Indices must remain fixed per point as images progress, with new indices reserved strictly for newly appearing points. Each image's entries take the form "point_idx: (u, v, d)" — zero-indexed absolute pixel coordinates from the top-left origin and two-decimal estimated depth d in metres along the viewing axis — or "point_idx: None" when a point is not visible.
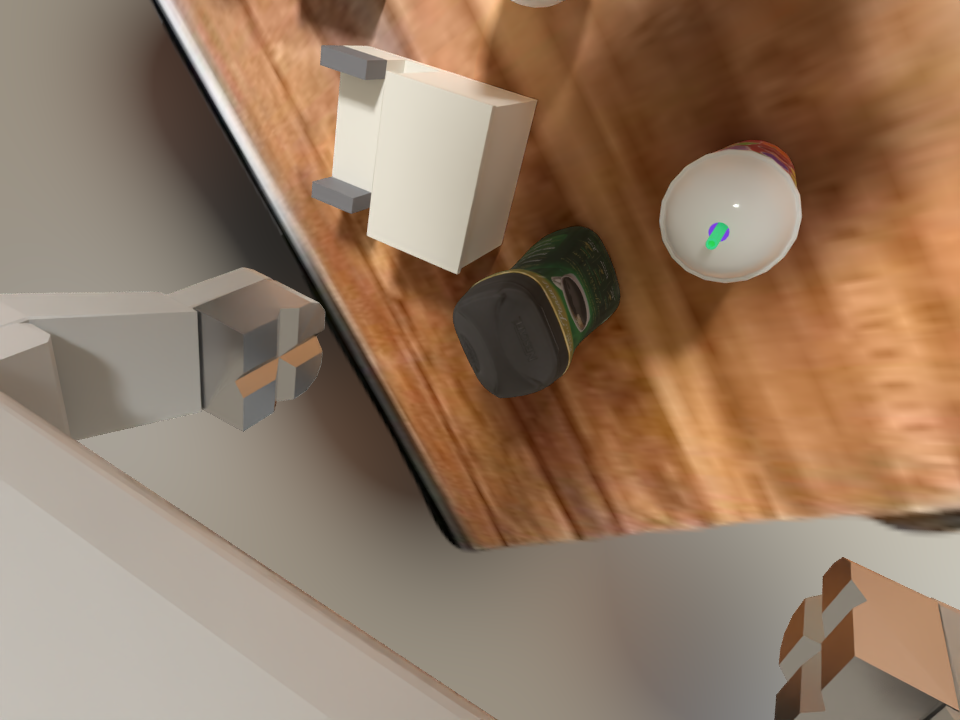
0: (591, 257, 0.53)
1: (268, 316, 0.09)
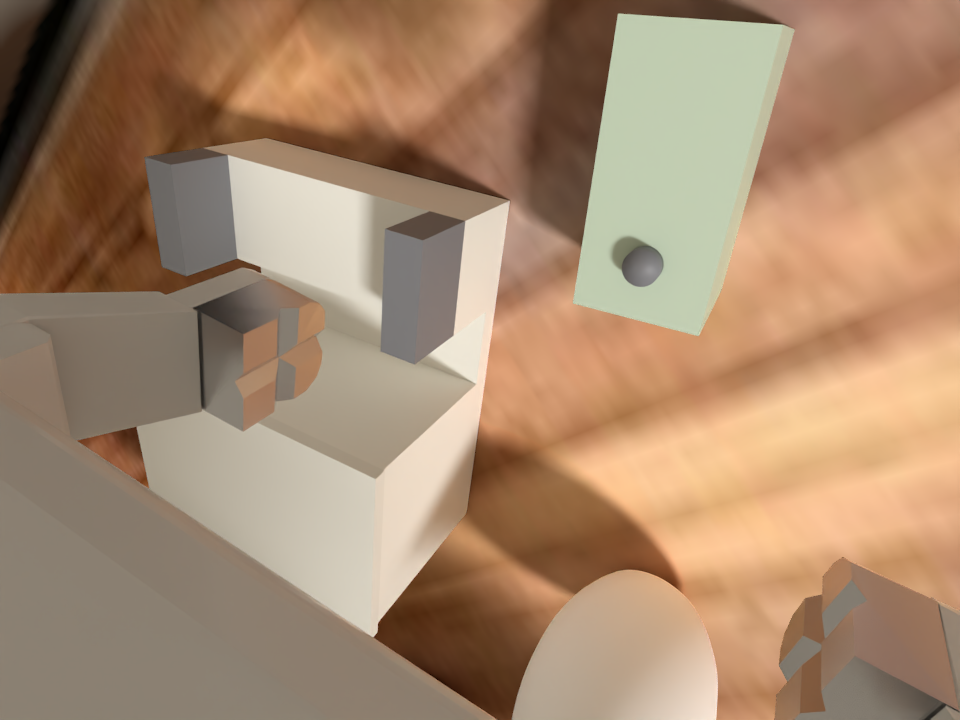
0: None
1: (268, 316, 0.09)
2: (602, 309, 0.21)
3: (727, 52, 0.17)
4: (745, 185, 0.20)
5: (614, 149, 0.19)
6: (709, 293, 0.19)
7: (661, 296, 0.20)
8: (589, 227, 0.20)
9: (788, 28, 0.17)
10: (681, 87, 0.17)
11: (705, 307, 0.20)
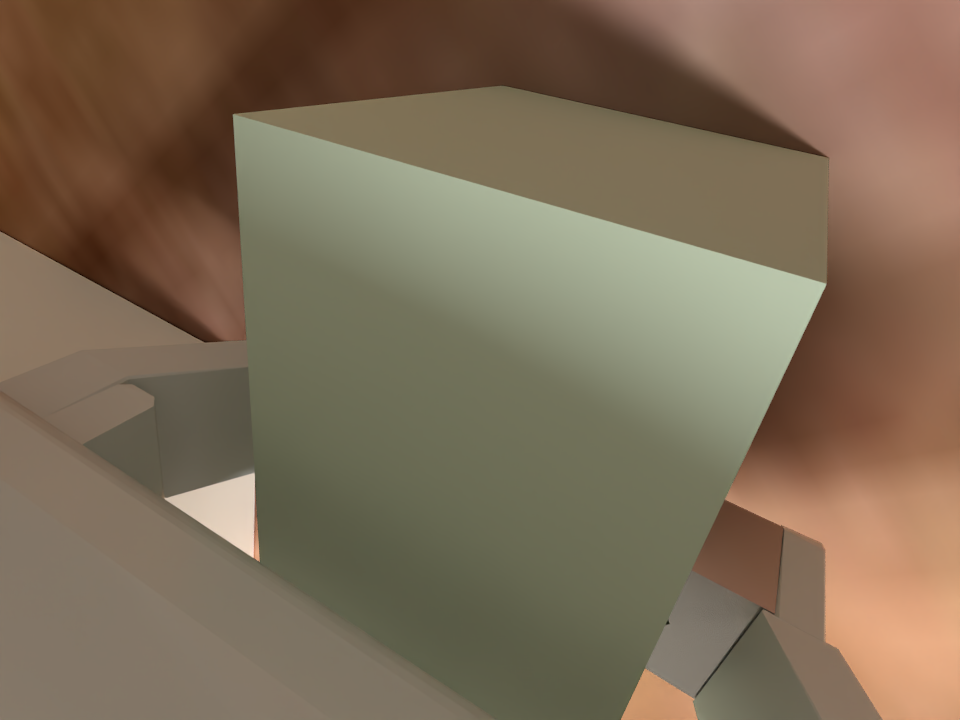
0: None
1: None
2: None
3: (592, 327, 0.04)
4: None
5: (293, 486, 0.07)
6: None
7: None
8: None
9: (826, 212, 0.05)
10: (443, 391, 0.05)
11: None
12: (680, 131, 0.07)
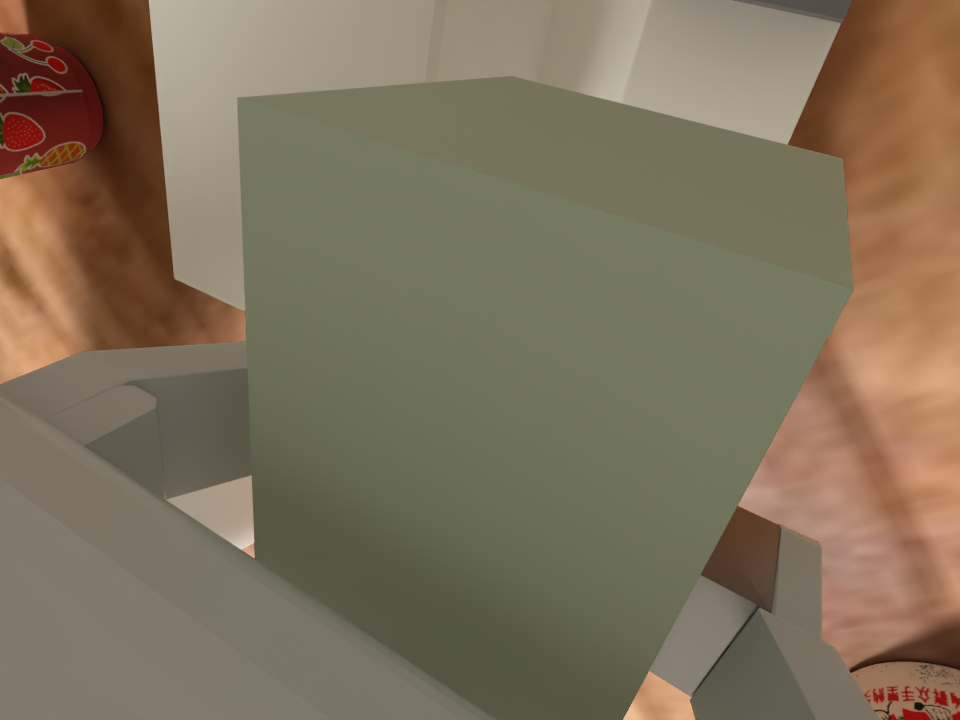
0: None
1: None
2: None
3: (606, 327, 0.04)
4: None
5: (291, 481, 0.06)
6: None
7: None
8: None
9: None
10: (449, 388, 0.05)
11: None
12: (692, 127, 0.07)
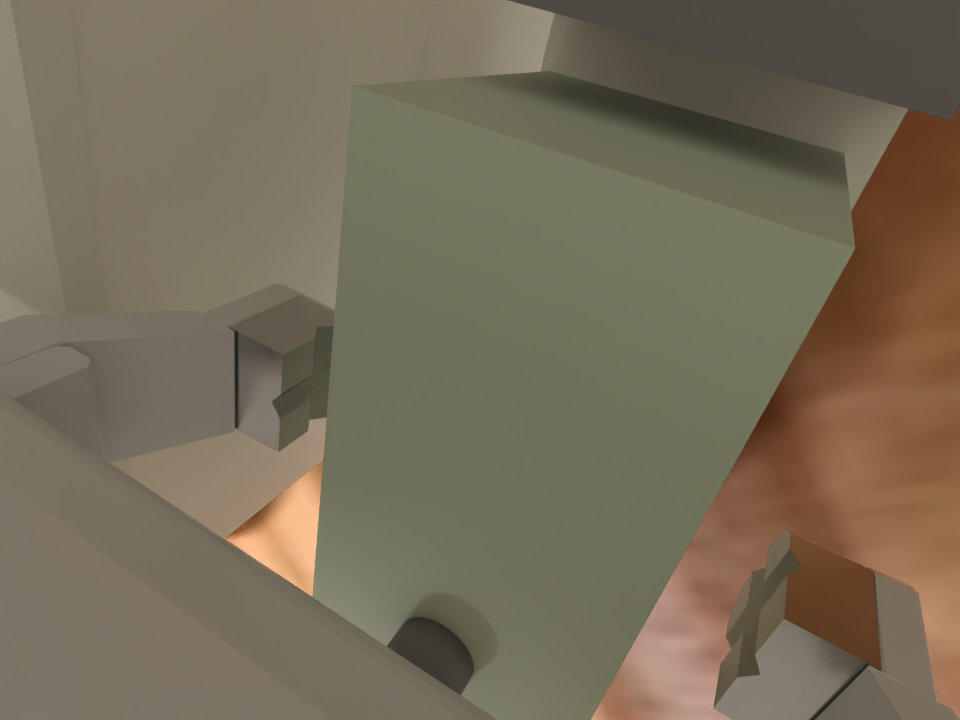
0: None
1: (305, 335, 0.09)
2: None
3: (657, 280, 0.05)
4: None
5: (364, 418, 0.07)
6: None
7: None
8: (325, 543, 0.09)
9: None
10: (518, 334, 0.06)
11: None
12: (714, 122, 0.08)
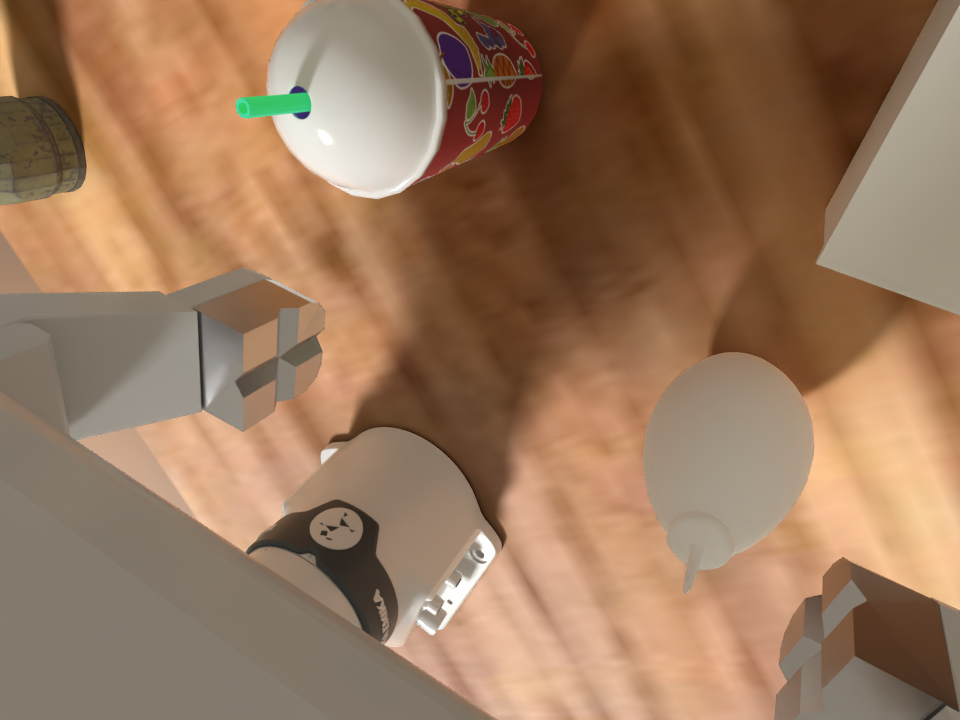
0: None
1: (268, 316, 0.09)
2: None
3: None
4: None
5: None
6: None
7: None
8: None
9: None
10: None
11: None
12: None
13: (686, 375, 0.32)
